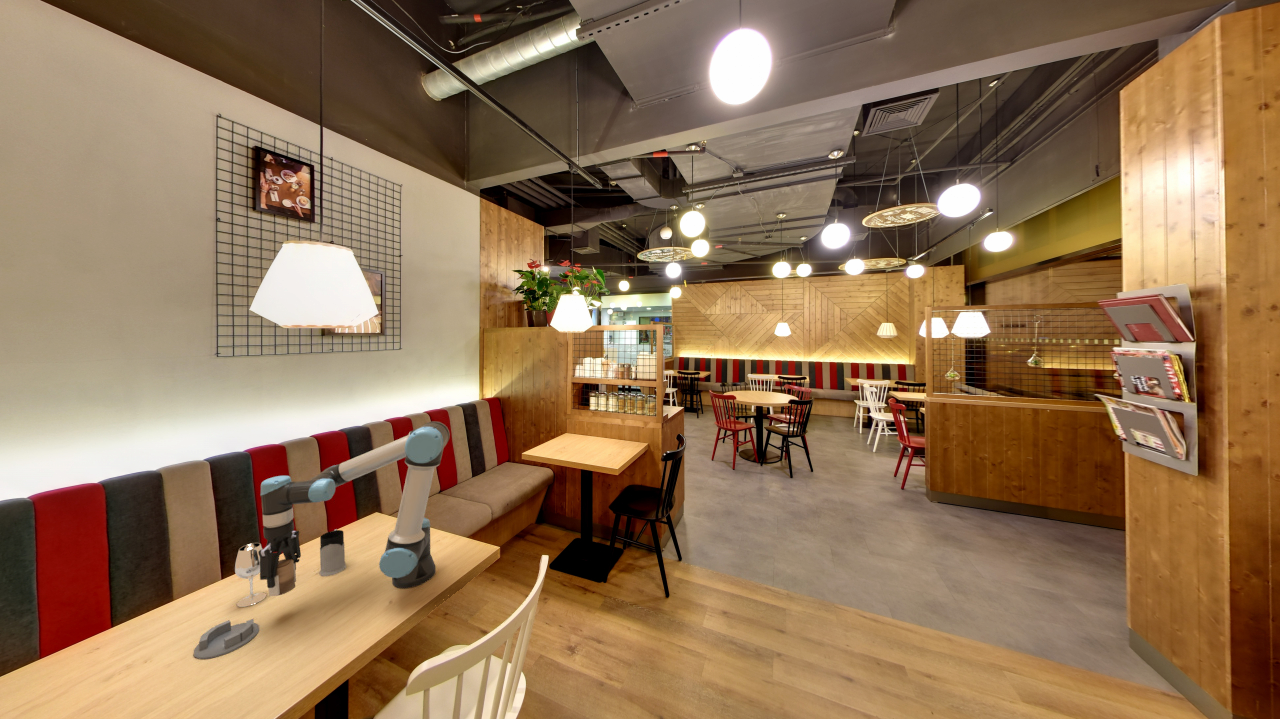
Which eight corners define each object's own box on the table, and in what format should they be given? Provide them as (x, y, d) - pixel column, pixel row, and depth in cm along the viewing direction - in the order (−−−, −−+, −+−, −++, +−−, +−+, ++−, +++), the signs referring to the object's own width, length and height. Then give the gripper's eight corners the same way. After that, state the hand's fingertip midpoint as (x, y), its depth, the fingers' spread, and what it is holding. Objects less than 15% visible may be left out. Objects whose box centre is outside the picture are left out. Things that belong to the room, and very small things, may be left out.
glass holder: (317, 578, 152) (316, 542, 152) (324, 561, 165) (323, 527, 164) (344, 572, 157) (343, 536, 156) (349, 555, 169) (348, 522, 169)
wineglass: (270, 596, 141) (269, 544, 141) (242, 610, 134) (240, 554, 134) (260, 590, 145) (258, 539, 144) (232, 603, 138) (229, 549, 137)
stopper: (299, 583, 134) (298, 556, 134) (285, 595, 128) (283, 567, 128) (280, 584, 134) (279, 558, 133) (265, 596, 128) (263, 568, 127)
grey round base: (271, 623, 128) (270, 613, 128) (230, 657, 114) (229, 646, 114) (225, 625, 127) (225, 615, 127) (178, 660, 113) (178, 649, 113)
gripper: (289, 511, 139) (293, 572, 140) (239, 538, 120) (244, 608, 121) (311, 509, 140) (315, 571, 141) (265, 536, 121) (270, 607, 122)
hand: (283, 588), depth 131 cm, fingers closed on stopper, 6 cm apart
